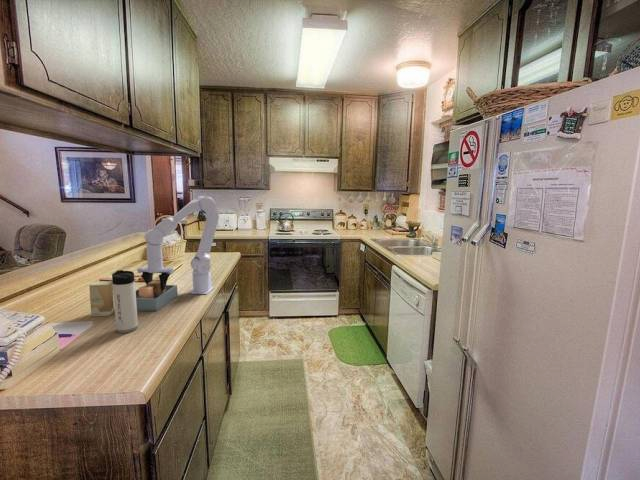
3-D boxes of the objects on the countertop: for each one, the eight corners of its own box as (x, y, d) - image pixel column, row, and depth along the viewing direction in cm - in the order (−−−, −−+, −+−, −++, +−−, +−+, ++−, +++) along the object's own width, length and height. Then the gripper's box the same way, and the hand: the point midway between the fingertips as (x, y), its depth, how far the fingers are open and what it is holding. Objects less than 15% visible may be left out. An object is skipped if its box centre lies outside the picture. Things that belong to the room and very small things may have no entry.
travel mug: (133, 323, 109) (129, 268, 105) (141, 328, 104) (137, 272, 101) (113, 328, 104) (108, 272, 100) (120, 335, 100) (115, 276, 96)
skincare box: (90, 317, 112) (87, 285, 110) (96, 312, 116) (93, 281, 114) (111, 315, 114) (108, 284, 112) (115, 311, 118) (112, 280, 116)
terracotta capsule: (136, 306, 121) (135, 289, 120) (144, 302, 126) (143, 285, 125) (149, 306, 121) (148, 289, 120) (156, 302, 126) (155, 286, 125)
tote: (148, 294, 136) (147, 284, 135) (177, 295, 136) (177, 285, 135) (123, 310, 119) (122, 298, 118) (156, 311, 119) (156, 299, 118)
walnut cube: (148, 295, 128) (147, 283, 128) (154, 291, 133) (154, 280, 132) (159, 295, 128) (158, 284, 127) (166, 291, 133) (165, 280, 132)
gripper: (131, 259, 124) (134, 291, 127) (167, 261, 124) (169, 293, 126) (141, 256, 131) (143, 286, 133) (175, 257, 131) (177, 287, 133)
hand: (156, 289), depth 130 cm, fingers closed on walnut cube, 5 cm apart
